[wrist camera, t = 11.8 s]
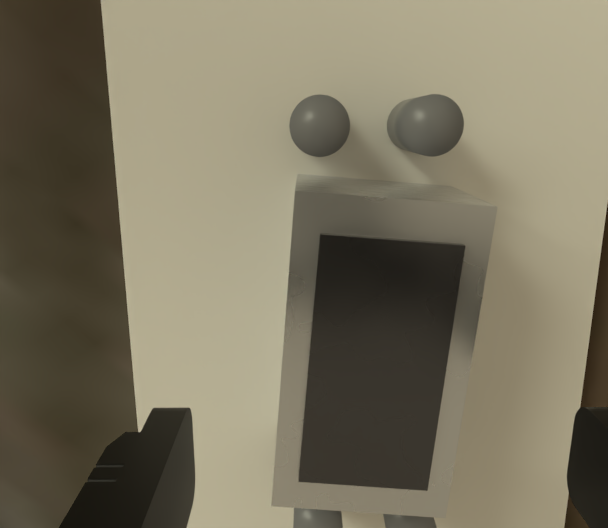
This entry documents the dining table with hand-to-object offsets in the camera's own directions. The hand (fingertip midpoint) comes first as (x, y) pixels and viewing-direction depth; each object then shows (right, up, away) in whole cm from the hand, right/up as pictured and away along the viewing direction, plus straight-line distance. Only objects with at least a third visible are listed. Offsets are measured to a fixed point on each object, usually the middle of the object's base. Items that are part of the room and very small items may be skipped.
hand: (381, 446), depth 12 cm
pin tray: (0, +2, +9) cm, 9 cm away
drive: (0, +2, +8) cm, 8 cm away
